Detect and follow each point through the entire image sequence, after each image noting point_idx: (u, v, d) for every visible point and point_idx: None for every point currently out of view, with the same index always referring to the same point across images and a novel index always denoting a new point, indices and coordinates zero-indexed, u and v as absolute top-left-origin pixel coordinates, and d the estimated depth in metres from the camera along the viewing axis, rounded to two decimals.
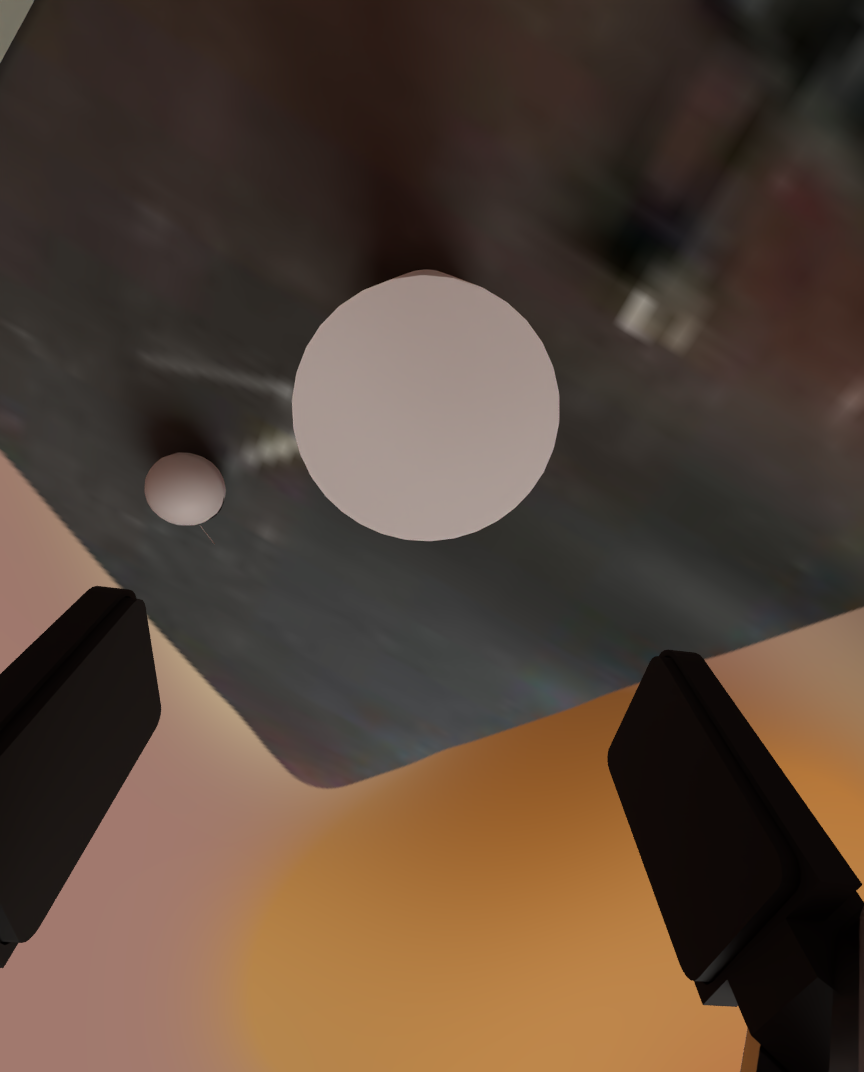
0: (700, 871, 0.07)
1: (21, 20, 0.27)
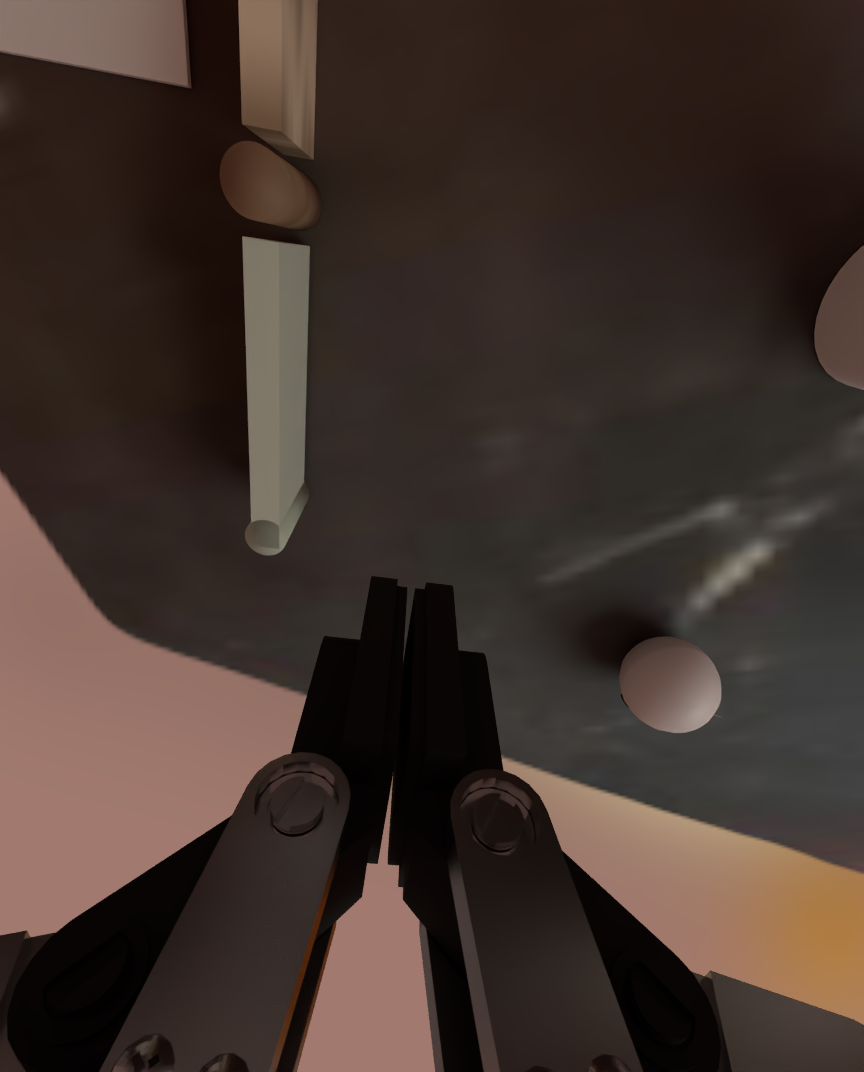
0: (399, 767, 0.08)
1: (305, 362, 0.23)
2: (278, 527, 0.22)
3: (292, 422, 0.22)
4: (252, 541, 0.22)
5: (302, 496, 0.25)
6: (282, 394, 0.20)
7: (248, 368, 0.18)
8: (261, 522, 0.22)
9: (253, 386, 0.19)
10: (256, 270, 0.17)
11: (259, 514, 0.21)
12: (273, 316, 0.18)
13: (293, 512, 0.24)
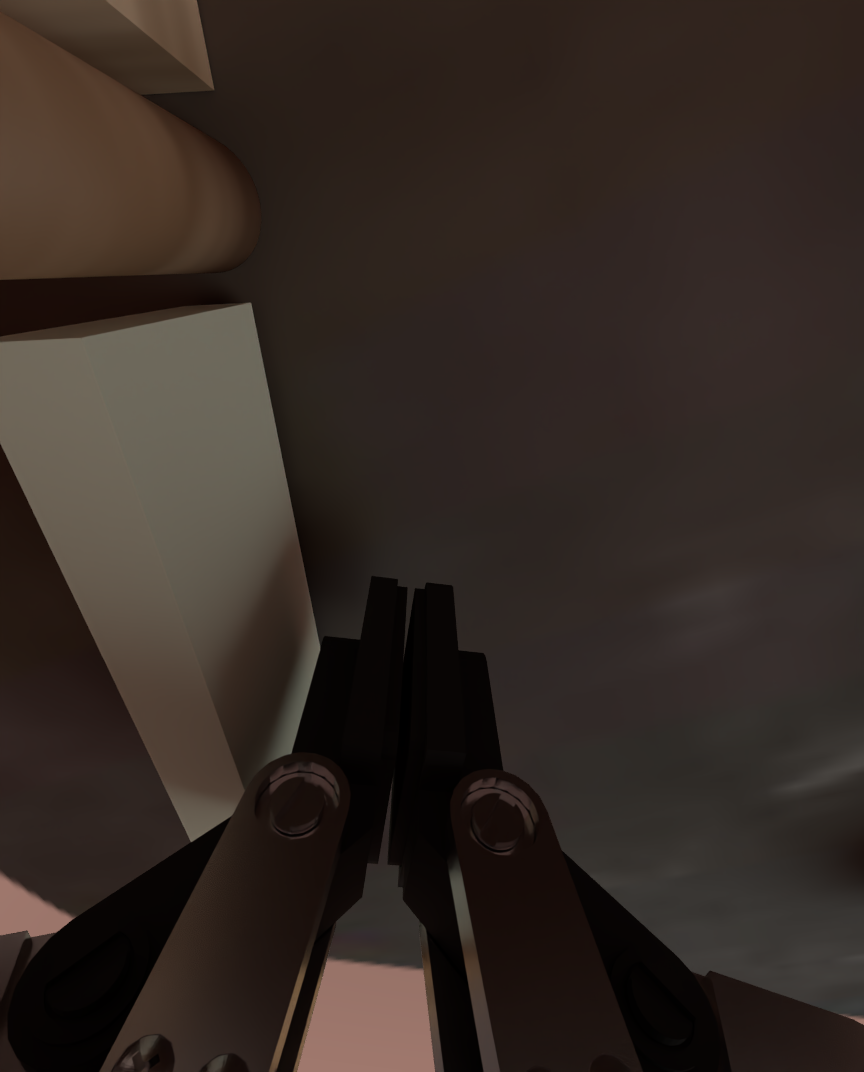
0: (399, 767, 0.08)
1: (294, 534, 0.11)
2: None
3: (284, 692, 0.10)
4: None
5: None
6: (234, 699, 0.08)
7: (120, 683, 0.07)
8: None
9: (148, 716, 0.07)
10: (42, 441, 0.05)
11: None
12: (144, 556, 0.06)
13: None
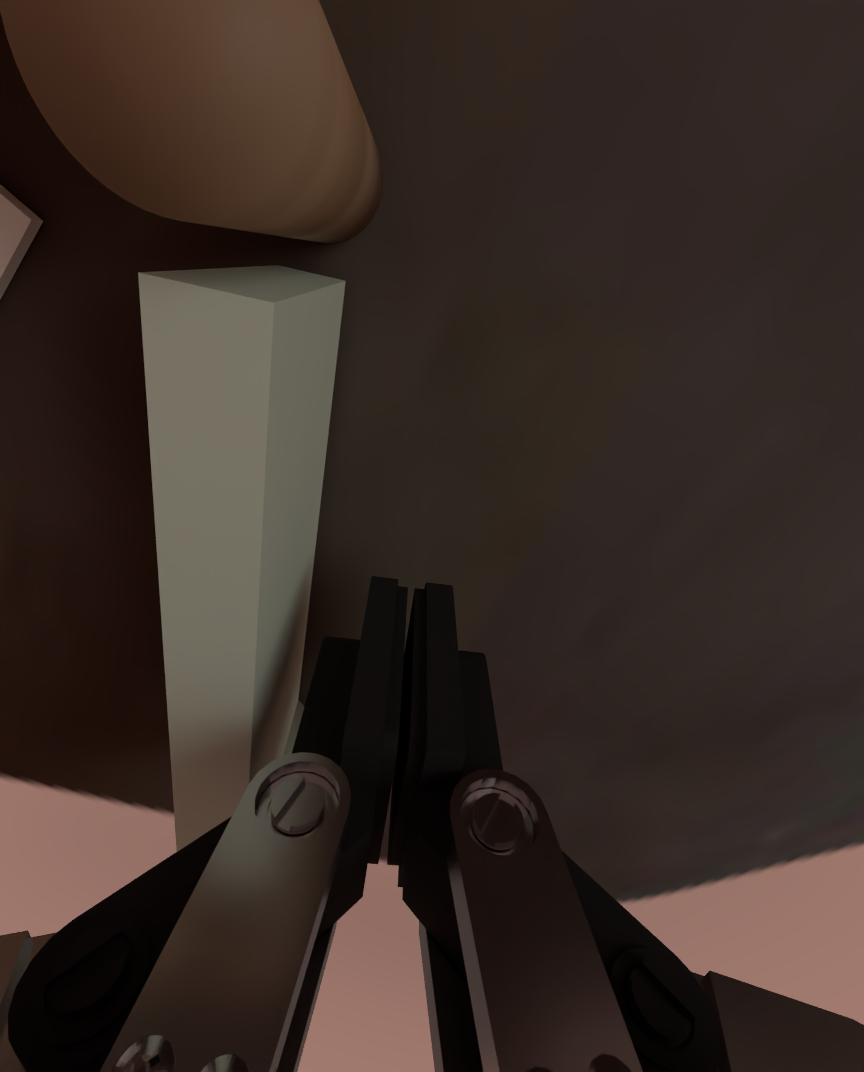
0: (398, 768, 0.08)
1: (316, 512, 0.11)
2: None
3: (284, 666, 0.10)
4: None
5: (294, 742, 0.13)
6: (263, 668, 0.08)
7: (168, 635, 0.06)
8: None
9: (183, 671, 0.07)
10: (191, 387, 0.05)
11: None
12: (245, 518, 0.06)
13: None
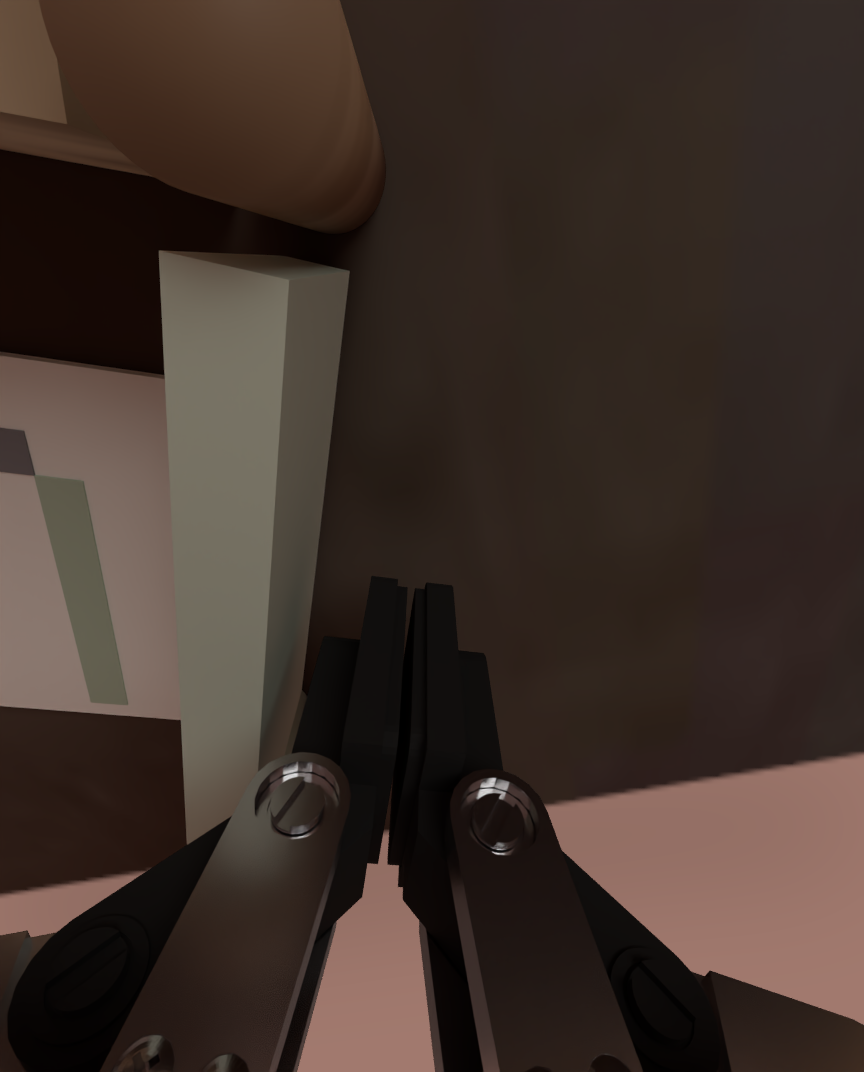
0: (399, 767, 0.08)
1: (320, 501, 0.11)
2: None
3: (290, 650, 0.10)
4: None
5: None
6: (272, 647, 0.08)
7: (181, 611, 0.07)
8: None
9: (195, 648, 0.07)
10: (208, 364, 0.05)
11: None
12: (259, 494, 0.06)
13: None
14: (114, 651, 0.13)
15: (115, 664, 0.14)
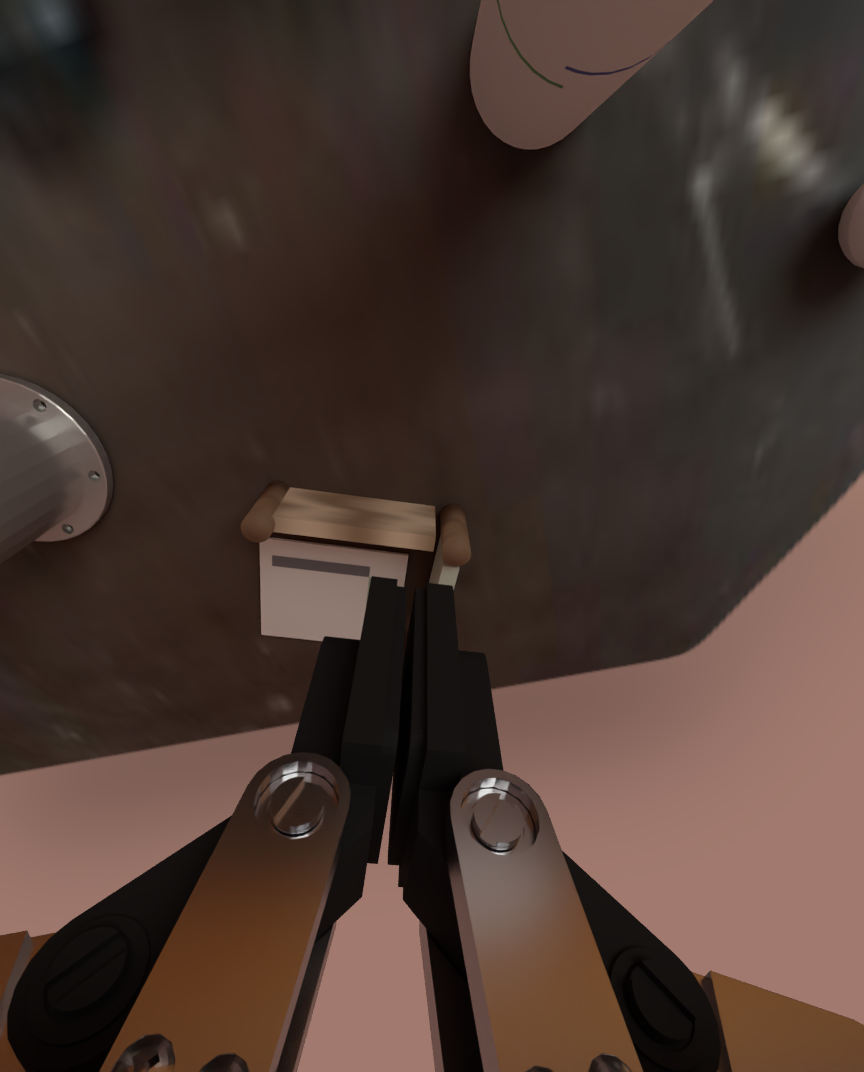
0: (399, 767, 0.08)
1: None
2: None
3: None
4: None
5: None
6: None
7: None
8: None
9: None
10: (446, 577, 0.36)
11: None
12: None
13: None
14: None
15: None
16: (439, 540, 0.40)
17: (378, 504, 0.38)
